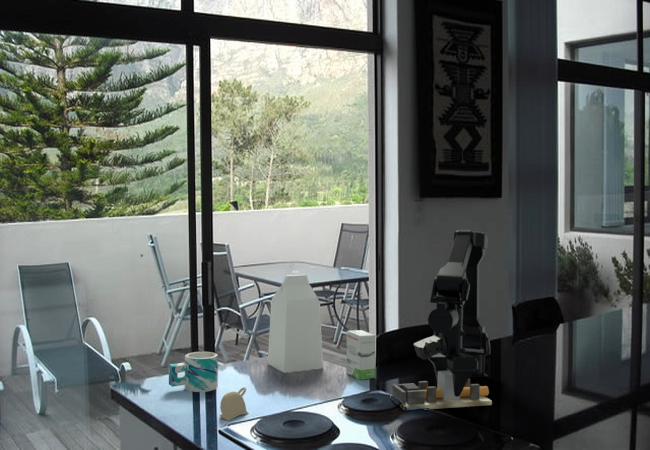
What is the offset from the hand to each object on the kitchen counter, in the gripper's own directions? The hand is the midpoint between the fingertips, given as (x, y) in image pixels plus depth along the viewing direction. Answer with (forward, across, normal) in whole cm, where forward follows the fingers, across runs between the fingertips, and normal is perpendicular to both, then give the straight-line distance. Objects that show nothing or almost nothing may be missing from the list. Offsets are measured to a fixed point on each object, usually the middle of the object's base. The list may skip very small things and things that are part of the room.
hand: (448, 391), depth 175 cm
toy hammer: (+2, 0, 0) cm, 2 cm away
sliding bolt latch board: (+3, 0, -2) cm, 3 cm away
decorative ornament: (+3, -1, -51) cm, 51 cm away
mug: (+3, -24, -58) cm, 63 cm away
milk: (+3, -42, -28) cm, 51 cm away
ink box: (+3, -28, -13) cm, 31 cm away
